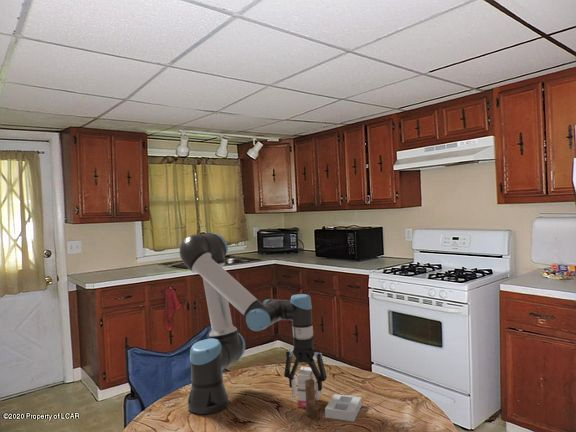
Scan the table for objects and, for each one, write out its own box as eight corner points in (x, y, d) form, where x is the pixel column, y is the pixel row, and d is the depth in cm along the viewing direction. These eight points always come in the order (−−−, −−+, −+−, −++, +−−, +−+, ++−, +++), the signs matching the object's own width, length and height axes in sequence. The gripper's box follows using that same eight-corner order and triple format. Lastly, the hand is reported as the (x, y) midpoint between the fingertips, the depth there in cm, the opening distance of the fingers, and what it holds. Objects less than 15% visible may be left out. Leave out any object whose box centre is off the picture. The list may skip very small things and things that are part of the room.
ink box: (311, 408, 149) (309, 375, 149) (297, 407, 150) (296, 375, 150) (314, 397, 158) (313, 366, 158) (301, 397, 159) (300, 366, 159)
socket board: (325, 417, 142) (324, 408, 142) (334, 402, 153) (334, 394, 153) (353, 421, 138) (353, 412, 138) (361, 405, 149) (361, 397, 149)
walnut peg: (305, 417, 143) (303, 382, 143) (308, 412, 146) (306, 378, 146) (314, 418, 142) (312, 383, 142) (317, 414, 145) (315, 379, 145)
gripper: (272, 337, 155) (275, 398, 155) (327, 341, 147) (331, 405, 146) (280, 332, 162) (283, 390, 161) (333, 335, 153) (336, 396, 153)
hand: (306, 397), depth 154 cm, fingers open, 9 cm apart
